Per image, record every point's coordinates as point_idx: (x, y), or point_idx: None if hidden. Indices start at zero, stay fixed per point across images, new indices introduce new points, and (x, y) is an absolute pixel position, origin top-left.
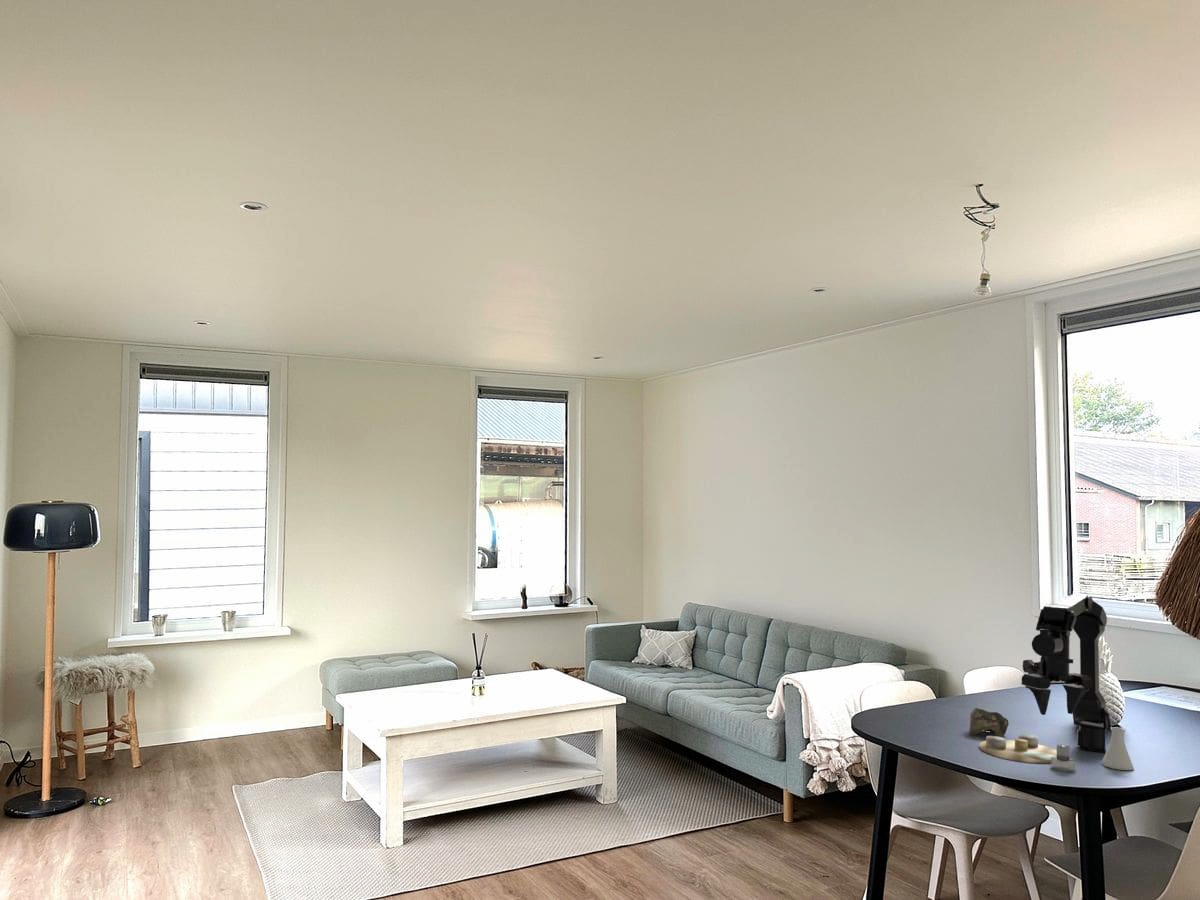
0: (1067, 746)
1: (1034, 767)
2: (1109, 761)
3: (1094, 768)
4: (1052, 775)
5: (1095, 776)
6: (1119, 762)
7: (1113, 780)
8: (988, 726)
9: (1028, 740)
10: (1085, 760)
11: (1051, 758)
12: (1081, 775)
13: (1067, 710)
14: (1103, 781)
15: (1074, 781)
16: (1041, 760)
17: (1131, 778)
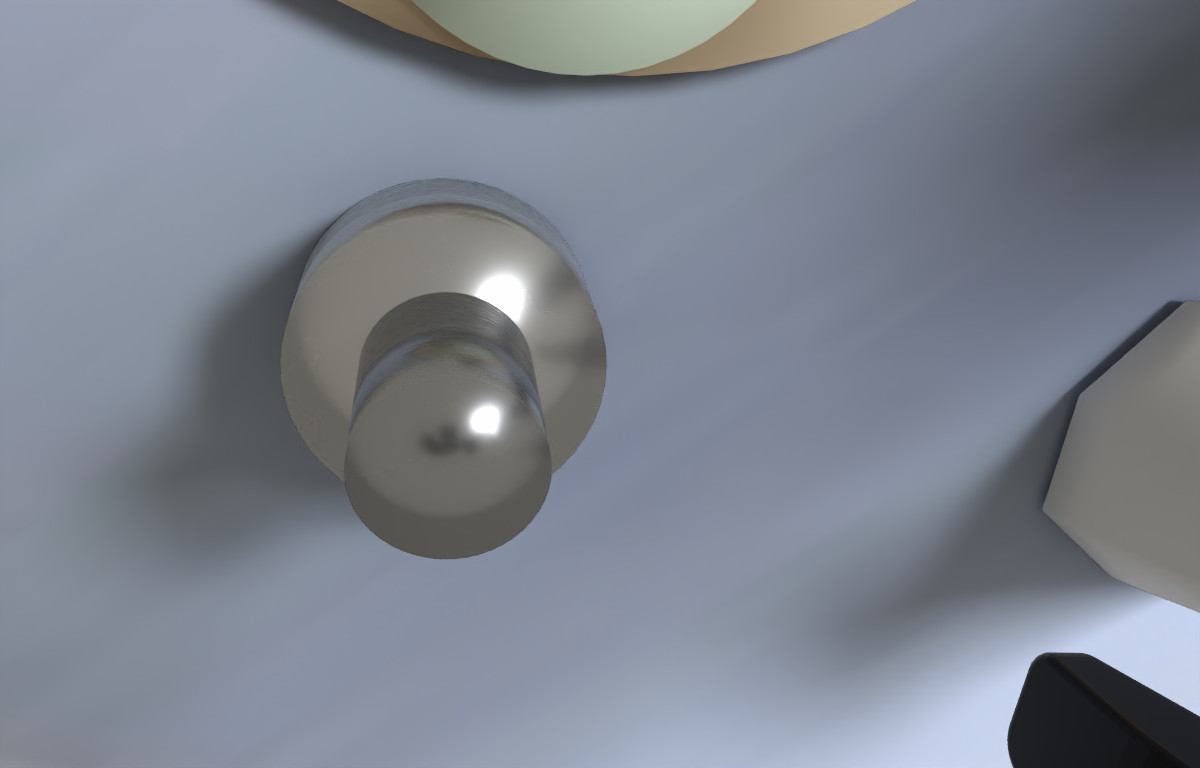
0: (480, 523)
1: (80, 134)
2: (1117, 477)
3: (884, 408)
4: (37, 477)
5: (562, 624)
6: (1136, 570)
7: (613, 754)
8: None
9: None
10: (1171, 115)
11: (310, 281)
12: (432, 562)
13: (1084, 690)
14: (470, 756)
15: (124, 696)
16: (381, 19)
17: (869, 746)
